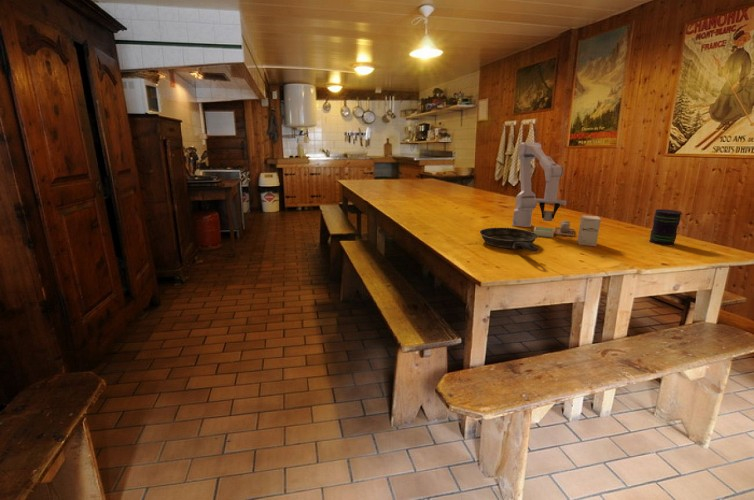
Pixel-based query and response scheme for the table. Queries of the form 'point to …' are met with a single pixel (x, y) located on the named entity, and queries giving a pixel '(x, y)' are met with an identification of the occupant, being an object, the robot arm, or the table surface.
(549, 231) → the bin
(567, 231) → the stone mid
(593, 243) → the supplement box
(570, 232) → the shallow brown tray
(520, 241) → the frying pan
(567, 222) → the stone back
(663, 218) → the storage jar
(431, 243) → the table surface
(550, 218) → the stone front
